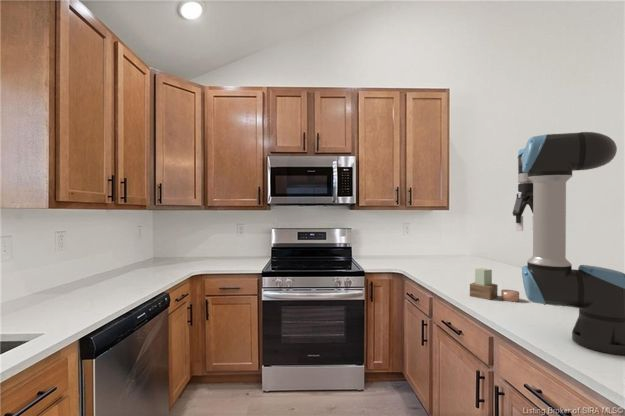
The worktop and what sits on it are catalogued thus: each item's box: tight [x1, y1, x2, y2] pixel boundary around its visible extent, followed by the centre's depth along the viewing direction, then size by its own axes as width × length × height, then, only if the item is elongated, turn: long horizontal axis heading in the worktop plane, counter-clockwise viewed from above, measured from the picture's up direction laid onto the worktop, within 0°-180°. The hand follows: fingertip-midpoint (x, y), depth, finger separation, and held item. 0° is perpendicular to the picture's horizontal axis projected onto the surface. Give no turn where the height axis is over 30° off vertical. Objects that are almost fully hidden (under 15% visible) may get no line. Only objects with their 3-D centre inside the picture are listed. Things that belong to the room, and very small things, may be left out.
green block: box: [474, 267, 493, 286], centre depth 158 cm, size 5×5×7 cm
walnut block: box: [469, 281, 499, 301], centre depth 158 cm, size 9×9×6 cm
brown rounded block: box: [500, 289, 520, 303], centre depth 152 cm, size 7×7×4 cm
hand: (527, 230), depth 151 cm, fingers open, 13 cm apart
